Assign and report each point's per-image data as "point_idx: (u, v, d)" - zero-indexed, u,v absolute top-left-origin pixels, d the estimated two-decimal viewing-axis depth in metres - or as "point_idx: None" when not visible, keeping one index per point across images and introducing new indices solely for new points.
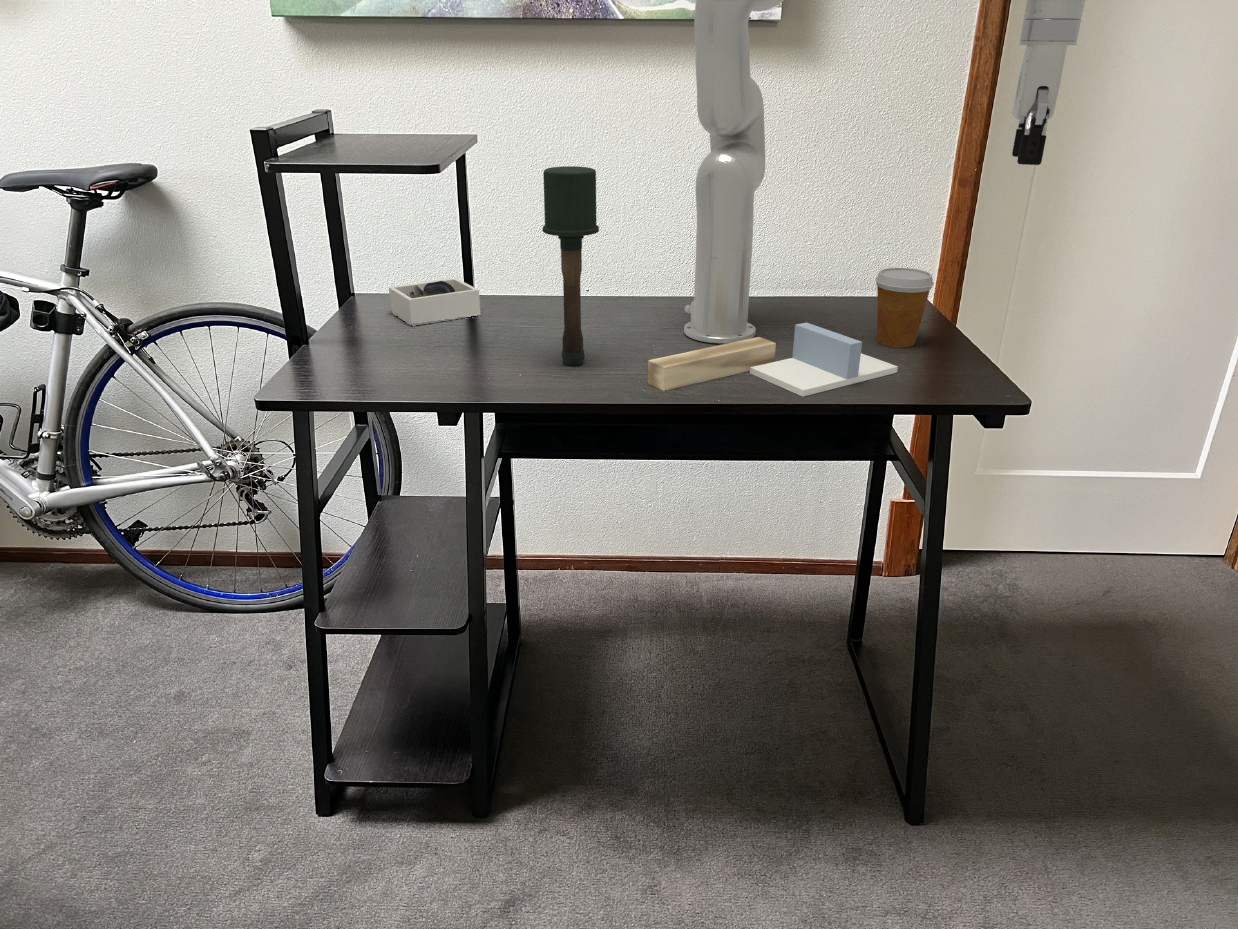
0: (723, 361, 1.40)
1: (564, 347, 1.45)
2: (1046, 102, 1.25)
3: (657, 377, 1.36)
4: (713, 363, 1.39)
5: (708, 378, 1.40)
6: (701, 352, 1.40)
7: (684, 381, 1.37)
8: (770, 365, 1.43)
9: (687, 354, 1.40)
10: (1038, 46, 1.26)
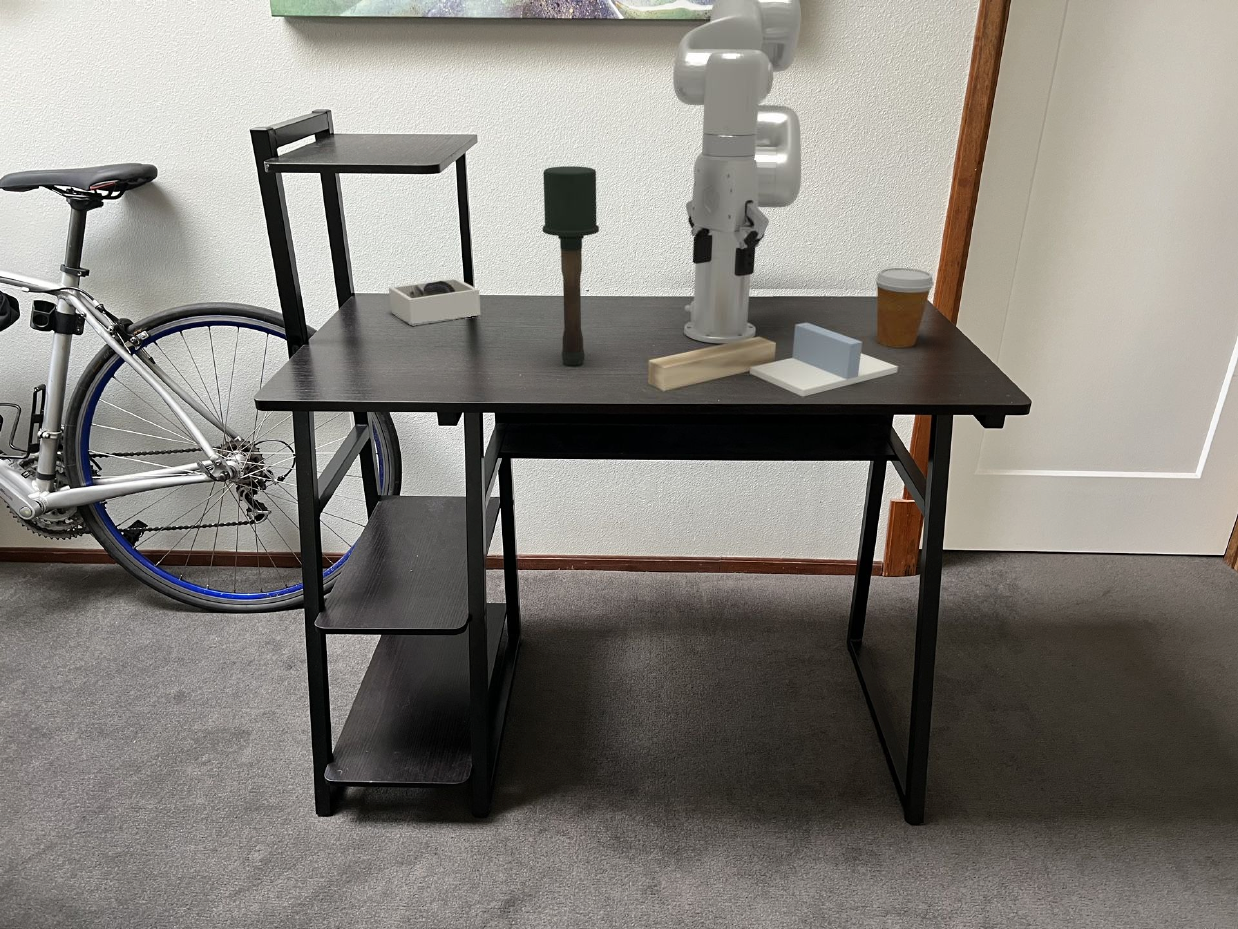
0: (724, 361, 1.40)
1: (564, 347, 1.45)
2: (765, 217, 1.26)
3: (657, 378, 1.36)
4: (713, 363, 1.39)
5: (708, 378, 1.40)
6: (701, 352, 1.40)
7: (684, 381, 1.37)
8: (770, 365, 1.43)
9: (687, 354, 1.40)
10: (739, 162, 1.25)
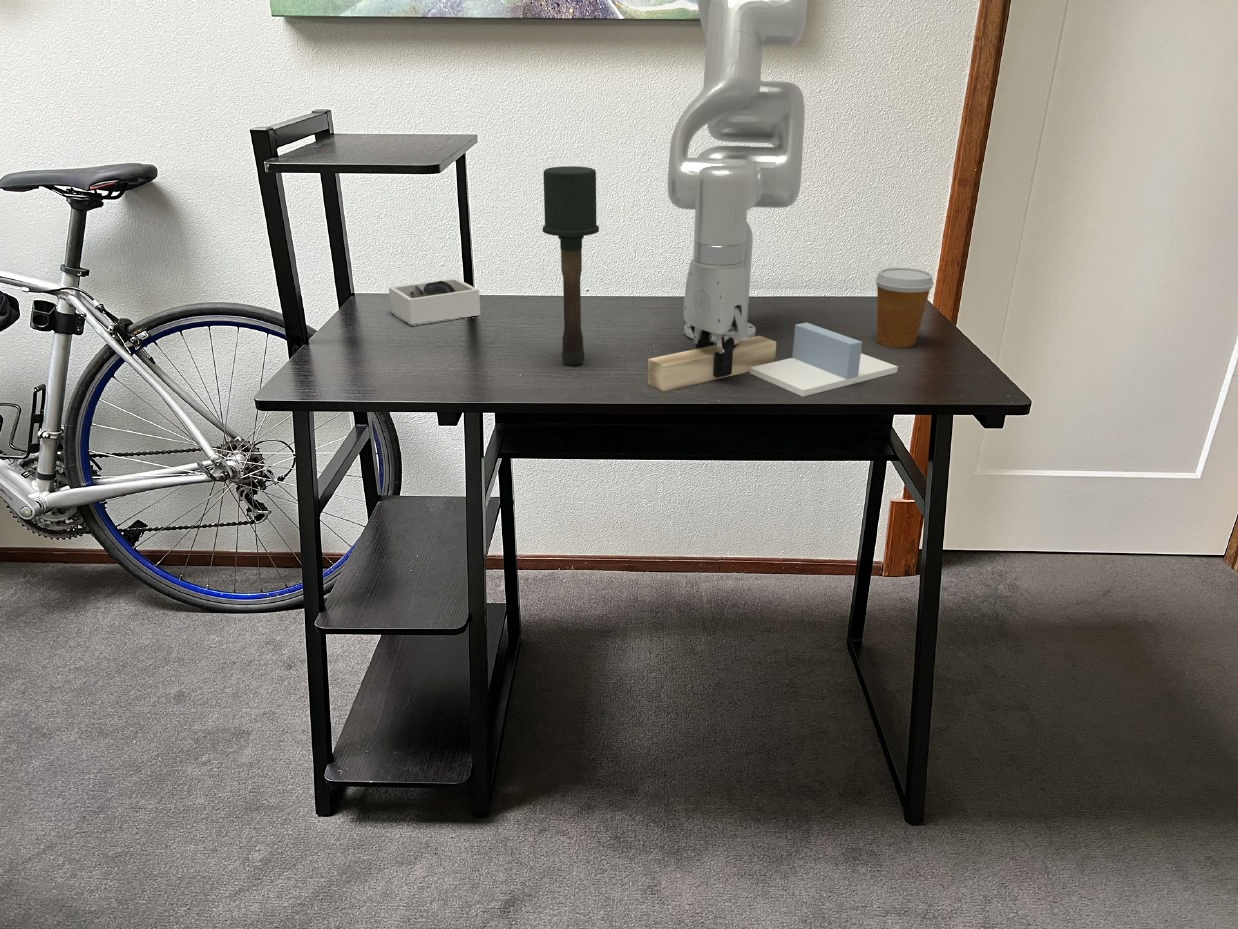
0: None
1: (564, 347, 1.45)
2: (745, 333, 1.34)
3: (657, 376, 1.36)
4: (713, 362, 1.39)
5: (708, 377, 1.39)
6: (701, 351, 1.40)
7: (684, 379, 1.37)
8: (770, 365, 1.43)
9: (687, 353, 1.39)
10: (728, 271, 1.31)
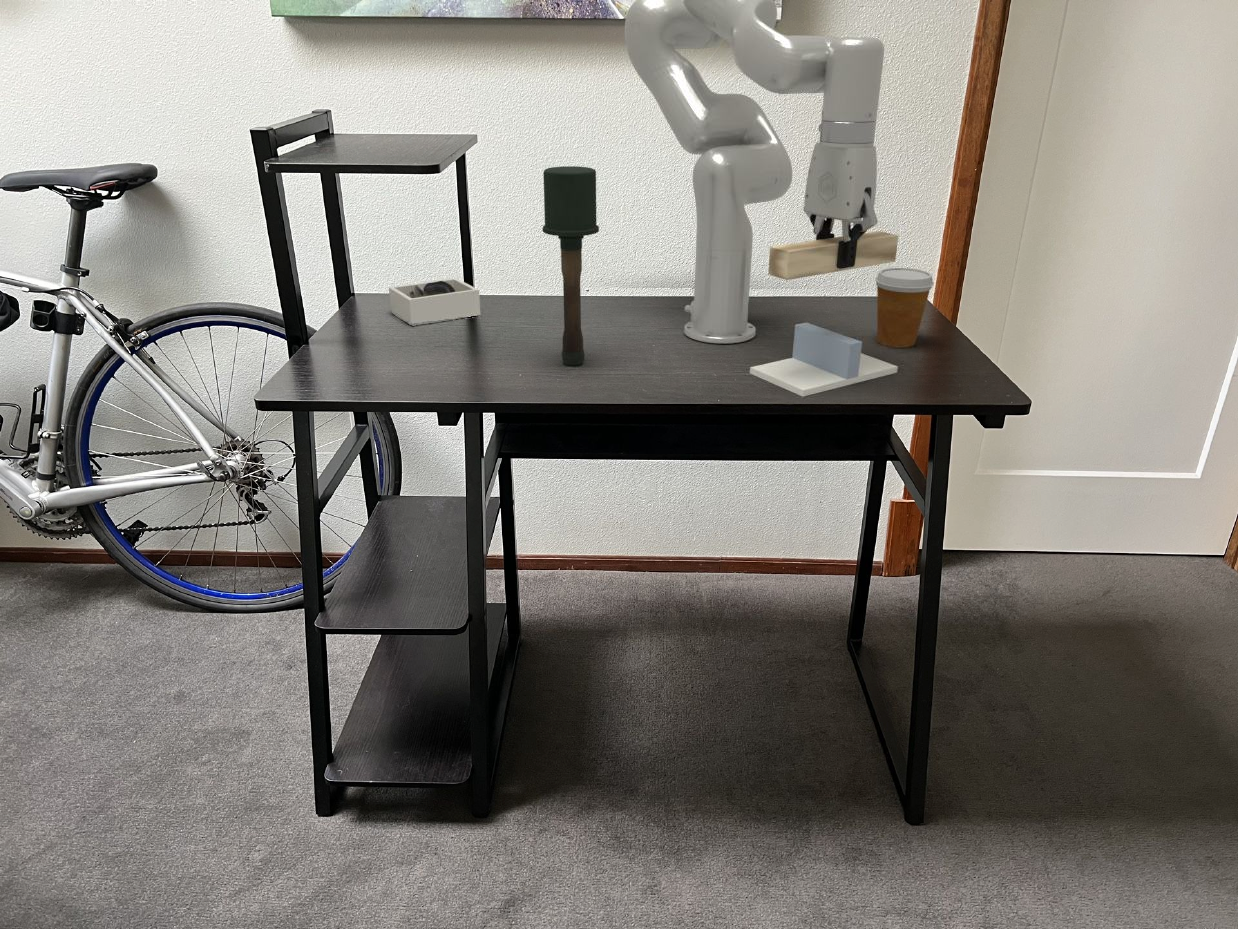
0: None
1: (564, 347, 1.45)
2: (875, 218, 1.27)
3: (780, 264, 1.29)
4: (836, 252, 1.32)
5: (831, 268, 1.33)
6: (823, 241, 1.34)
7: (807, 268, 1.30)
8: (770, 365, 1.43)
9: (809, 242, 1.33)
10: (860, 149, 1.24)
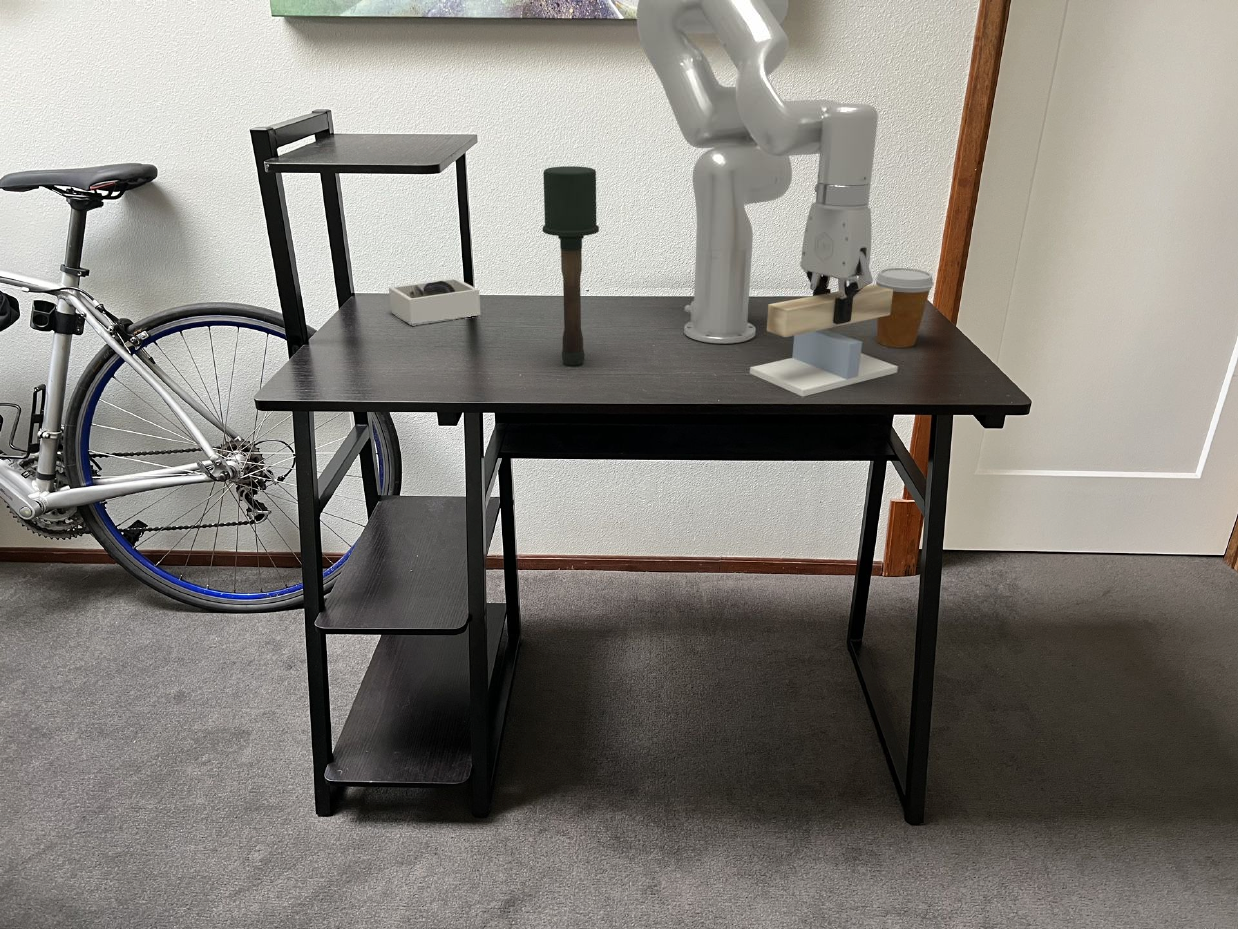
0: None
1: (564, 347, 1.45)
2: (871, 277, 1.31)
3: (778, 322, 1.33)
4: (833, 308, 1.36)
5: (828, 323, 1.36)
6: (820, 298, 1.37)
7: (805, 325, 1.34)
8: (770, 365, 1.43)
9: (806, 299, 1.36)
10: (855, 211, 1.28)
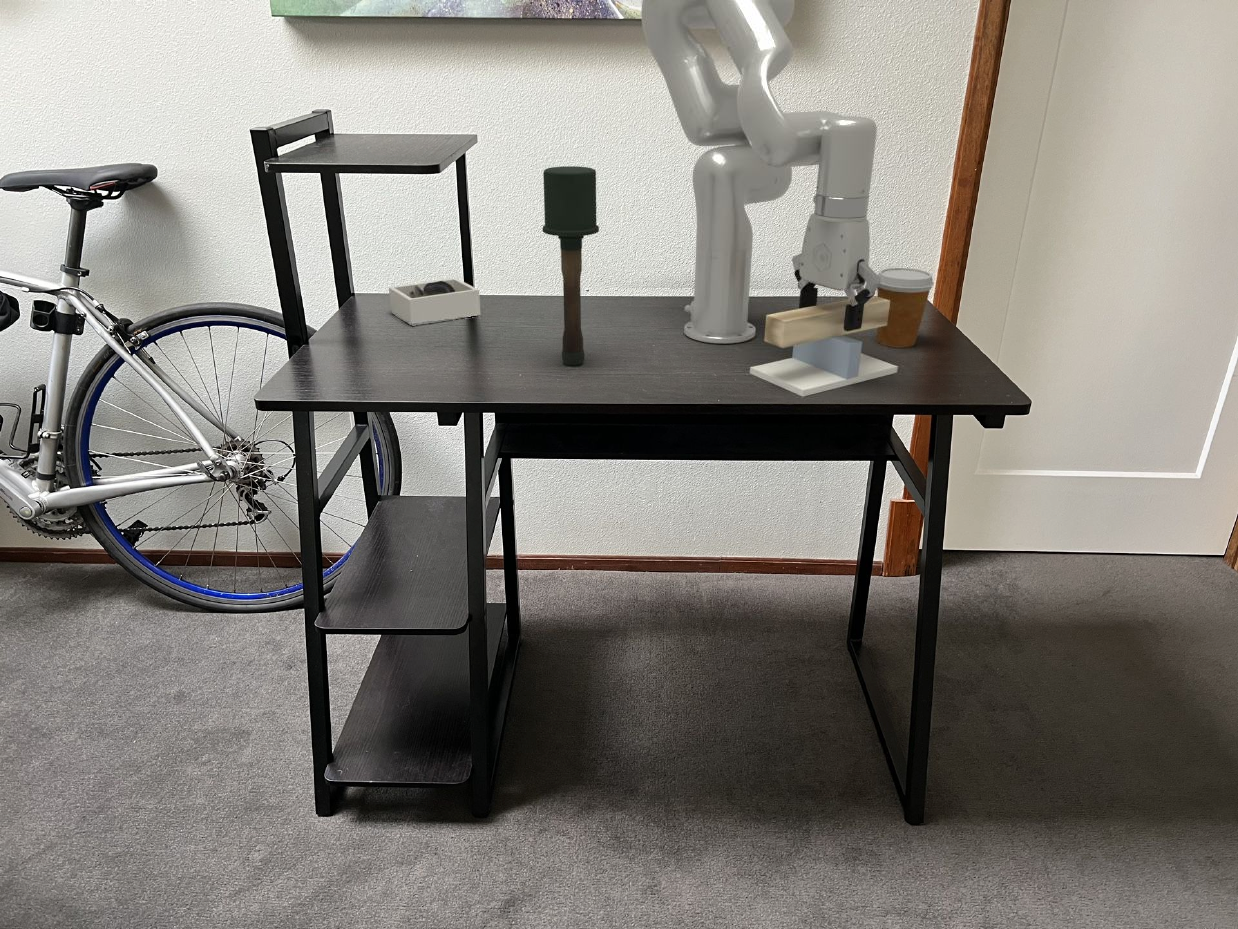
0: (840, 317, 1.38)
1: (564, 347, 1.45)
2: (878, 276, 1.30)
3: (776, 332, 1.34)
4: (830, 319, 1.37)
5: (825, 334, 1.37)
6: (817, 308, 1.38)
7: (802, 336, 1.35)
8: (770, 365, 1.43)
9: (804, 310, 1.37)
10: (854, 224, 1.29)
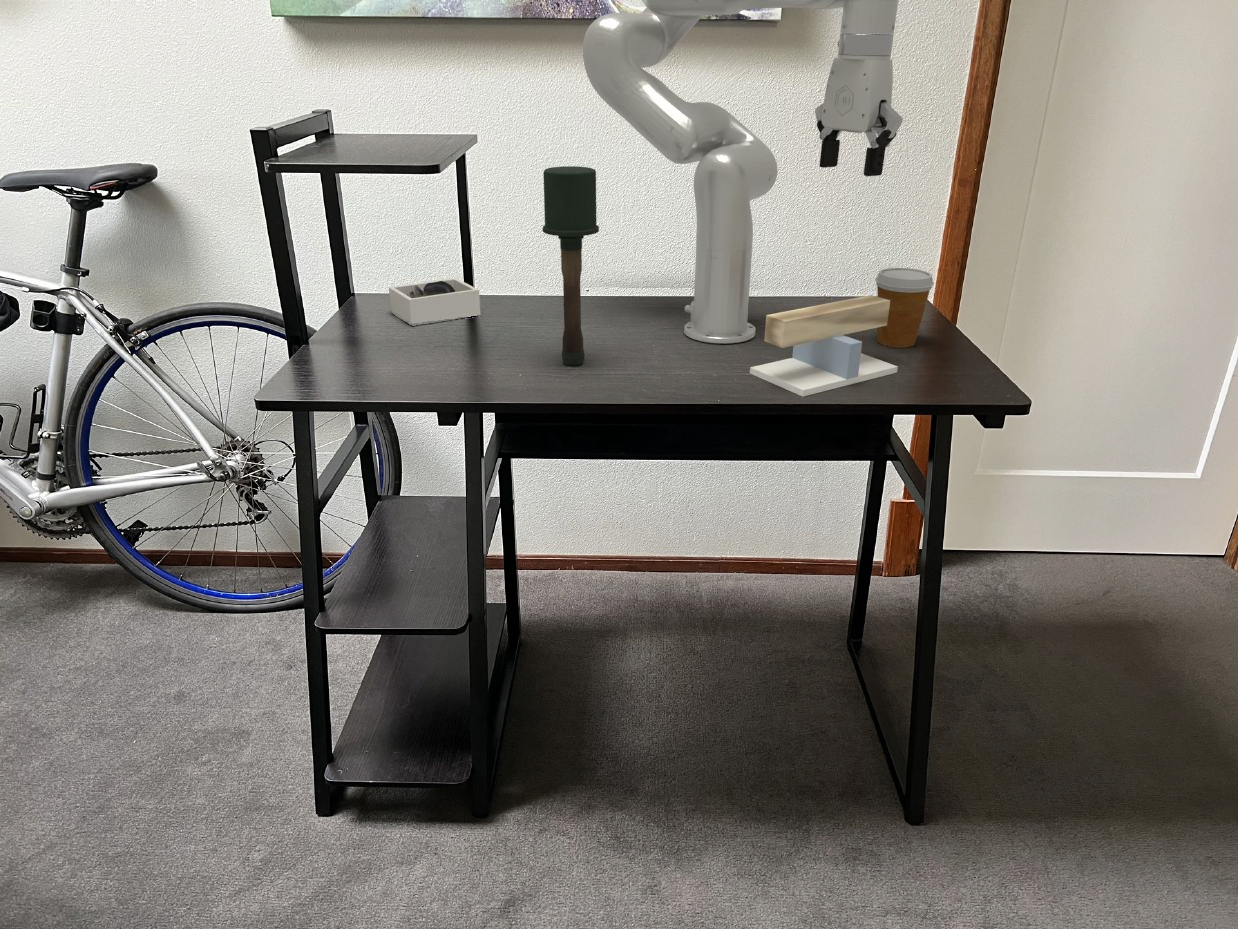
0: (840, 317, 1.38)
1: (564, 347, 1.45)
2: (899, 116, 1.29)
3: (776, 332, 1.34)
4: (830, 319, 1.37)
5: (825, 334, 1.37)
6: (817, 308, 1.38)
7: (802, 336, 1.35)
8: (770, 365, 1.43)
9: (804, 310, 1.37)
10: (877, 61, 1.28)
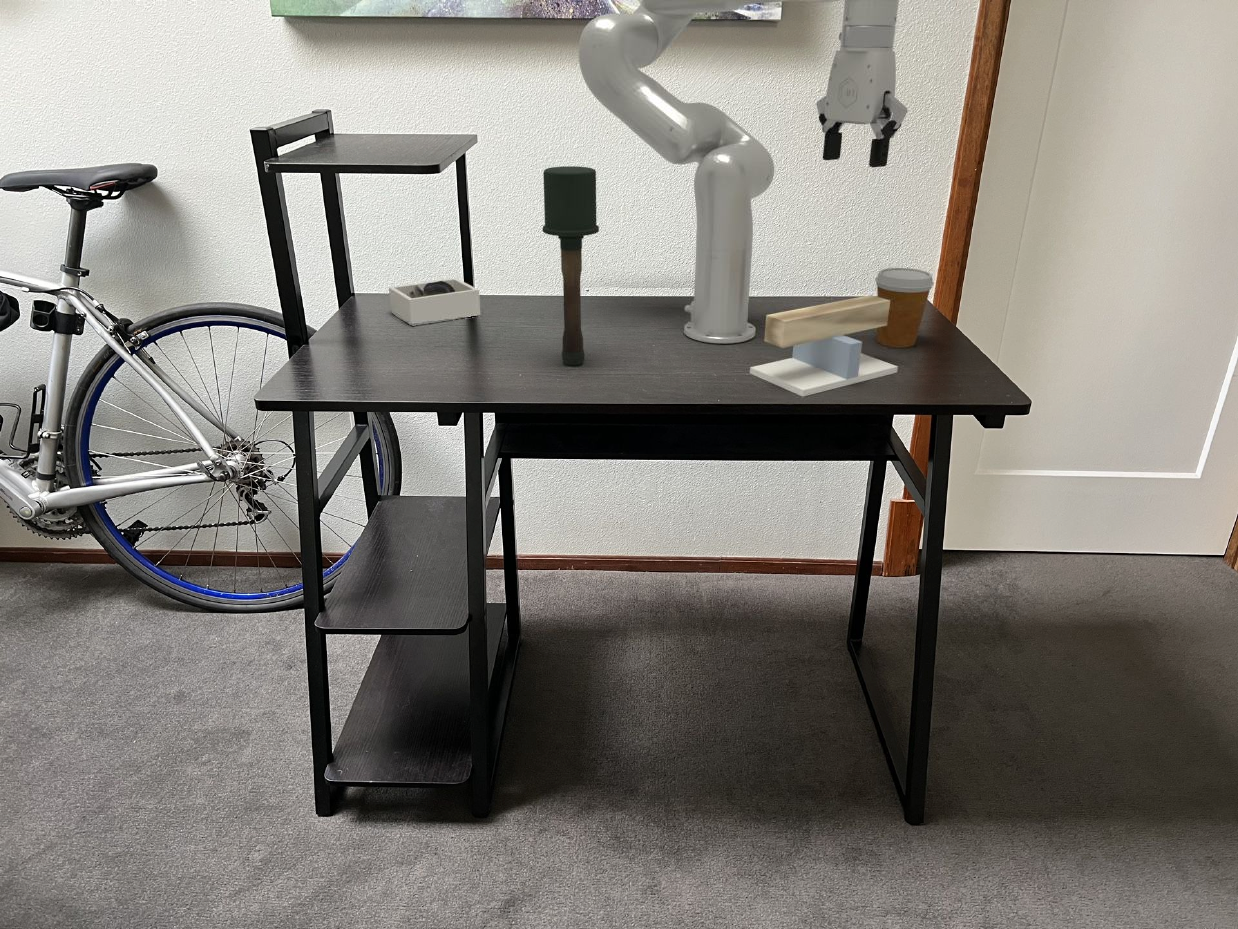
0: (840, 317, 1.38)
1: (564, 347, 1.45)
2: (904, 106, 1.30)
3: (776, 332, 1.34)
4: (830, 319, 1.37)
5: (825, 334, 1.37)
6: (817, 308, 1.38)
7: (802, 336, 1.35)
8: (770, 365, 1.43)
9: (804, 310, 1.37)
10: (880, 52, 1.29)
